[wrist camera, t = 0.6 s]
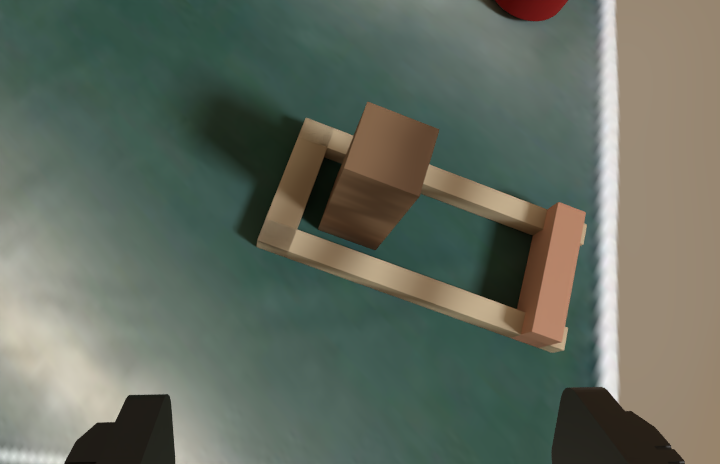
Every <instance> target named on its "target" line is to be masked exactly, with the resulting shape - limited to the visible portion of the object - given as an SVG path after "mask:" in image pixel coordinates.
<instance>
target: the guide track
mask: <svg viewBox="0 0 720 464" xmlns="http://www.w3.org/2000/svg"><path fill="white" fill-rule="evenodd" d="M352 138H353V135H350V134H348V133H345V132H342V131H340V130H337V129H334V128H332V127H329V126H327V125H324V124H321V123H319V122H316V121H313V120H311V119H308V118H305V121H304V124H303V126H302V129H301V131H300V134H299V136H298V139H297V141H296V144H295V146H294V149H293V151H292V154H291V156H290V159H289V161H288V164H287V166H286V169H285V172H284V174H283V177H282V179H281V182H280V184H279V187H278V189H277V192H276V194H275V197H274V199H273V202H272V204H271V207H270V209H269V212H268V214H267V217H266V219H265V222H264V225H263V227H262V230H261V232H260V235H259V237H258V240H257V247H258V248H261V249H264V250H267V251H269V252H272V253H275V254H278V255H281V256H283V257H286V258H289V259H292V260H294V261H297V262H300V263H303V264H306V265H308V266H311V267H314V268H317V269H320V270H322V271H325V272H328V273H331V274H334V275H336V276H339V277H342V278H345V279H348V280H350V281H353V282H356V283H359V284H361V285H364V286H367V287H370V288H373V289H375V290H378V291H381V292H384V293H387V294H389V295H392V296H395V297H398V298H401V299H403V300H406V301H409V302H412V303H415V304H417V305H420V306H423V307H426V308H428V309H431V310H434V311H437V312H440V313H442V314H445V315H448V316H451V317H454V318H456V319H459V320H462V321H465V322H468V323H470V324H473V325H476V326H479V327H482V328H484V329H487V330H490V331H493V332H495V333H498V334H501V335H504V336H507V337H509V338H512V339H515V340H518V341H521V342H523V343H526V344H529V345H532V346H535V347H537V348H540V349H543V350H546V351H549V352H551V353H554V352H558V351H563V350H564V347H565V342H566V336H567V331H568V328H567V327H565V322H566V317H567V312H568V306H569V301H570V295H571V290H572V285H573V279H574V274H575V269H576V263H577V258H578V252H579V247H580V246H581V245H583V244H584V238H585V233H586V227H587V225H586V224H584V220H585V215H586V212H583V211H581V210H578V209H575V208H573V207H570V206H568V205H565V204H562V203H560V202H558V203H556V204H555V205H553V206H552V207H550V208H549V209H548V210H547V209H544V208H542V207H539V206H537V205H534V204H531V203H529V202H526V201H523V200H521V199H518V198H516V197H513V196H510V195H508V194H505V193H502V192H500V191H497V190H495V189H492V188H489V187H487V186H484V185H481V184H479V183H476V182H474V181H471V180H468V179H466V178H463V177H460V176H458V175H455V174H453V173H450V172H447V171H445V170H442V169H439V168H437V167H434V166H432V165H429V166H428V170H427V173H426V176H425V180H424V183H423V186H422V190H421V194H423V195H426V196H429V197H431V198H434V199H437V200H439V201H442V202H445V203H447V204H450V205H453V206H455V207H458V208H461V209H463V210H466V211H469V212H471V213H474V214H477V215H479V216H482V217H485V218H487V219H490V220H493V221H495V222H498V223H501V224H503V225H506V226H509V227H511V228H514V229H517V230H519V231H522V232H525V233H527V234H530V235H533V237H532V242H531V246H530V251H529V256H528V260H527V265H526V269H525V274H524V279H523V283H522V288H521V292H520V297H519V302H518V306H517V309H514V308H512V307H509V306H506V305H503V304H501V303H498V302H495V301H492V300H490V299H487V298H484V297H481V296H479V295H476V294H473V293H470V292H468V291H465V290H462V289H459V288H457V287H454V286H451V285H448V284H446V283H443V282H440V281H437V280H435V279H432V278H429V277H426V276H424V275H421V274H418V273H415V272H413V271H410V270H407V269H404V268H402V267H399V266H396V265H393V264H391V263H388V262H385V261H382V260H380V259H377V258H374V257H371V256H369V255H366V254H363V253H360V252H357V251H355V250H352V249H349V248H346V247H344V246H341V245H338V244H335V243H333V242H330V241H327V240H324V239H322V238H319V237H316V236H313V235H311V234H308V233H305V232H302V231H300V230H297V229H298V226H299V223H300V220H301V218H302V215H303V212H304V210H305V207H306V204H307V202H308V199H309V196H310V194H311V191H312V188H313V186H314V183H315V180H316V178H317V175H318V172H319V169H320V167H321V164H322V161H323V159H324V157H325V158H328V159H330V160H333V161H336V162H338V163H341V164H342V163H343V160H344V158H345V155H346V153H347V151H348V148H349V146H350V143H351V141H352Z"/></svg>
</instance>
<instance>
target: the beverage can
mask: <svg viewBox="0 0 720 464" xmlns="http://www.w3.org/2000/svg"><path fill="white" fill-rule="evenodd" d="M495 1H496V2H497V3H498V5H499V6H500V7H501V8H503V9H504V10H505V11H506V12H508V13H509V14H511V15H513V16H515V17H517V18H520V19H523V20H527V21H543V20H546V19H549V18H551V17H553V16H554V15H556V14H557V13H558V12H559V11H560V10H561V8H562V7H563V6H564V5H565V4H566V2H567V1H568V0H495Z"/></svg>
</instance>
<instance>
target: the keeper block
mask: <svg viewBox="0 0 720 464" xmlns="http://www.w3.org/2000/svg"><path fill="white" fill-rule="evenodd" d="M438 133H439V129H437V128H434V127H432V126H429V125H427V124H424V123H421V122H419V121H416V120H414V119H411V118H408V117H406V116H403V115H401V114H398V113H396V112H393V111H390V110H388V109H385V108H383V107H380V106H377V105H375V104H372V103H370V102H367V104H366V107H365V109H364V112H363V114H362V117H361V119H360V121H359V124H358V126H357V129H356V131H355V134H354V136H353V138H352V141H351V143H350V146H349V148H348V151H347V153H346V155H345V158H344V160H343V163H342V165H341V168H340V170H339V172H338V175H337V177H336V180H335V183H334V186H333V189H332V191H331V194H330V197H329V200H328V202H327V205H326V208H325V211H324V214H323V216H322V219H321V222H320V225H319V228H318V230H321V231H323V232H326V233H329V234H332V235H334V236H337V237H340V238H343V239H345V240H348V241H351V242H354V243H356V244H359V245H362V246H365V247H367V248H370V249H373V250H376V249H377V248H378V246H379V245H380V244H381V243H382V242H383V240H384V239H385V238H386V237H387V235H388V234H389V233H390V232H391V231H392V229H393V228H394V227H395V226H396V224H397V223H398V222H399V221H400V220H401V218H402V217H403V216H404V215H405V213H406V212H407V211H408V210H409V209H410V207H411V206H412V205H413V204H414V202H415V201H416V200H417V199H418V198H419V196H420V193H421V190H422V186H423V183H424V180H425V176H426V173H427V170H428V166H429V163H430V159H431V156H432V153H433V149H434V146H435V143H436V139H437V136H438Z"/></svg>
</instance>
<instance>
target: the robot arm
mask: <svg viewBox="0 0 720 464" xmlns="http://www.w3.org/2000/svg"><path fill="white" fill-rule="evenodd" d="M65 464H175V449H174V436H173V423H172V409H171V400H170V396H169V395H168V394H162V395H129V396H128V397H127V398H126V400H125V402H124V404H123V406H122V409H121V411H120V413H119V415H118V417H117V419H116V421H115V422H105V423H96V424H95V425H94V426H93V427H92V428H91V429H90V430H88V431H87V432H86V433H85V434H84V435H83V436H81V437H80V438H79V439H78V440H77V441H76V442H75V444H74V446H73V448H72V450H71V452H70V453H69V455H68V457H67V459H66V461H65ZM552 464H685V462H684V460H683V459H682V458H681V456H680V455H679V454H678V453H677V452H676V451H675V450H674V449H671V445H670V444H669V443H668V442H667V440H666V439H665V438H664V437H663V436H662V435H661V434H660V432H659V431H658V430H657V429H656V428H655V427H654V426H652V425H651V424H649V423H648V422H647V421H645V420H643V419H642V418H641V417H639V416H638V415H636V414H634V413H633V412H632V411H624V410H623V409H622V407H621V406H620V405H619V404H618V402H617V401H616V400H615V399H614V398H613V397H612V395H611V394H610V393H609V392H608V391H607V390H606V389H605V388H603V387H580V388H566V389H565V390H564V391H563V393H562V396H561V401H560V406H559V412H558V417H557V423H556V428H555V434H554V439H553V445H552Z"/></svg>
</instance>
